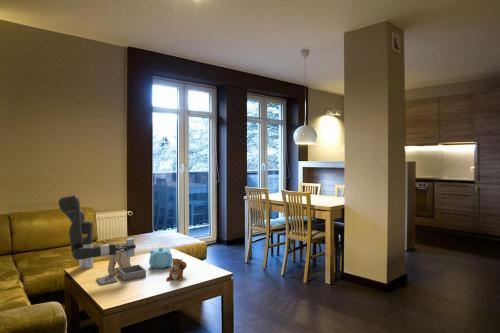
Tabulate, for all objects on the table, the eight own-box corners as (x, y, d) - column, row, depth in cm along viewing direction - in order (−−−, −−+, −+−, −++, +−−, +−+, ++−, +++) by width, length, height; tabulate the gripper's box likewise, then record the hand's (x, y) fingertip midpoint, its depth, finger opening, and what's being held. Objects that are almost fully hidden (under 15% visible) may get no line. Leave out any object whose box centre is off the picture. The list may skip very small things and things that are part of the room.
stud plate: (96, 280, 225) (96, 274, 225) (112, 276, 231) (112, 271, 231) (100, 285, 215) (100, 279, 215) (117, 281, 221) (117, 275, 221)
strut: (126, 255, 232) (126, 238, 232) (132, 254, 234) (132, 237, 234) (128, 257, 229) (127, 239, 228) (134, 256, 231) (134, 238, 231)
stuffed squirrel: (165, 281, 222) (164, 260, 222) (175, 273, 236) (174, 254, 235) (179, 282, 219) (179, 261, 219) (188, 274, 233) (188, 255, 233)
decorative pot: (173, 262, 262) (172, 244, 261) (172, 269, 246) (172, 249, 245) (150, 264, 259) (150, 245, 258) (148, 270, 243) (148, 251, 243)
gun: (111, 276, 232) (112, 253, 233) (106, 275, 233) (107, 253, 234) (131, 268, 256) (131, 247, 257) (126, 267, 257) (127, 247, 258)
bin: (118, 275, 235) (118, 268, 234) (139, 271, 243) (139, 264, 242) (124, 281, 222) (124, 274, 222) (146, 276, 230) (146, 270, 230)
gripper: (109, 246, 217) (137, 242, 227) (104, 241, 229) (131, 238, 239) (110, 258, 217) (137, 253, 227) (105, 253, 229) (131, 249, 239)
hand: (134, 245), depth 233 cm, fingers closed on strut, 4 cm apart
